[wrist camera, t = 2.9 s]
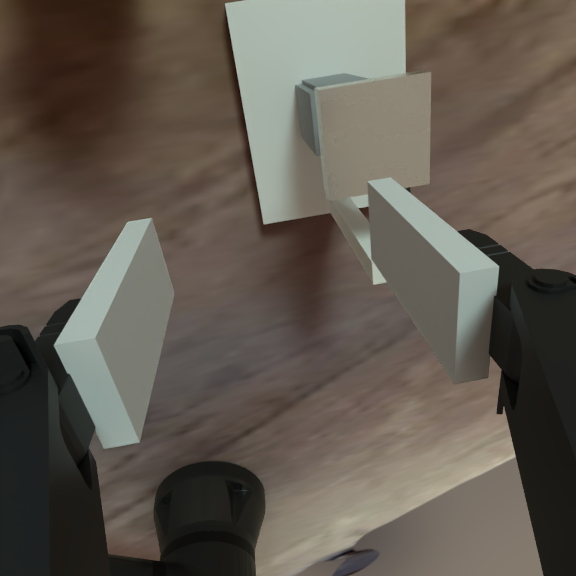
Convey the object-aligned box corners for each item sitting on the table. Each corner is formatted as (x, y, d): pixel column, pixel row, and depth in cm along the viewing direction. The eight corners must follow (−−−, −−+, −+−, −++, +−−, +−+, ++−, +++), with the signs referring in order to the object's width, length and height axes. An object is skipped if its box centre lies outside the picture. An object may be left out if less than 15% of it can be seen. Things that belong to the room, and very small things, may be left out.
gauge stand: (262, 217, 44) (279, 310, 29) (225, 5, 36) (219, -27, 20) (400, 193, 45) (490, 273, 29) (396, -21, 36) (522, -74, 20)
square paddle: (313, 230, 37) (337, 282, 29) (295, 78, 32) (318, 90, 23) (384, 217, 37) (428, 266, 29) (379, 65, 32) (431, 71, 23)
